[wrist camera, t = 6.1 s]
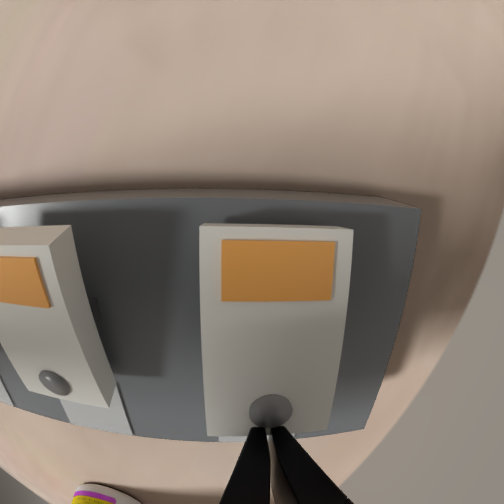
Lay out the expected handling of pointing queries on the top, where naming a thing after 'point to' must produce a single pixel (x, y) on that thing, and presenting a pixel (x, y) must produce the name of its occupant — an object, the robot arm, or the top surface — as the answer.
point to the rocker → (272, 324)
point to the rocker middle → (50, 317)
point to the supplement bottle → (100, 495)
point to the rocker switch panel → (188, 297)
